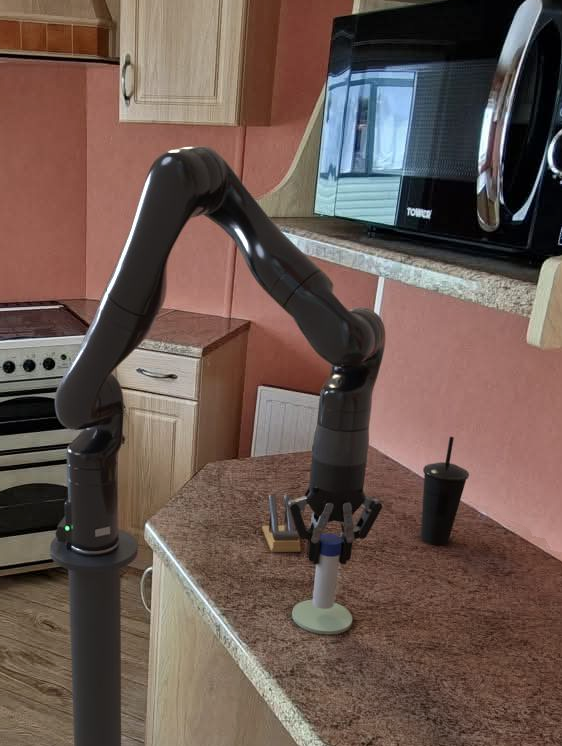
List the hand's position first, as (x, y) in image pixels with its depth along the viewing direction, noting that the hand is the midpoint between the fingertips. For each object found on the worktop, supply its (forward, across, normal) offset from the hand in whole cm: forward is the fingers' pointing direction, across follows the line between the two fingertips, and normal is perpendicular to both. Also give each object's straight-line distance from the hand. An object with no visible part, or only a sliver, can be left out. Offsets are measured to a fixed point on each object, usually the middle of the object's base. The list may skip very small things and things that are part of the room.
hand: (327, 561), depth 118 cm
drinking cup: (+10, +28, +26) cm, 39 cm away
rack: (+10, -1, +26) cm, 28 cm away
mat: (+10, 0, 0) cm, 10 cm away
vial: (+5, 0, +4) cm, 6 cm away
